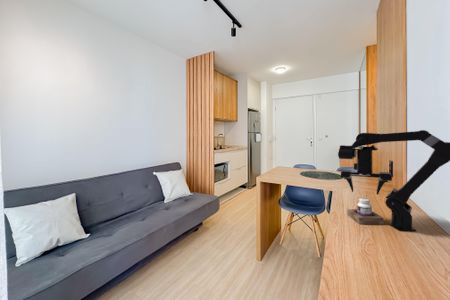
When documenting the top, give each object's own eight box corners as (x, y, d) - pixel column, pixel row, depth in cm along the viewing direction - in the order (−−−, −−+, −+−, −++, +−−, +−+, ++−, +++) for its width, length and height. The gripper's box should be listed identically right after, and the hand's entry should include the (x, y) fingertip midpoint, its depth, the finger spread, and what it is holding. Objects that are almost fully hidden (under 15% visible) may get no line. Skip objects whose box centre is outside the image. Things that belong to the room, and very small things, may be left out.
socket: (383, 224, 84) (383, 217, 84) (359, 224, 85) (359, 217, 85) (368, 215, 94) (368, 209, 94) (347, 215, 95) (347, 209, 95)
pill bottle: (358, 216, 93) (357, 196, 93) (371, 218, 90) (371, 198, 89) (356, 220, 89) (356, 199, 88) (371, 223, 86) (371, 201, 85)
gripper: (389, 158, 89) (388, 191, 90) (342, 157, 100) (342, 187, 101) (392, 161, 80) (391, 197, 81) (340, 160, 91) (340, 192, 92)
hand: (364, 193), depth 89 cm, fingers open, 9 cm apart
